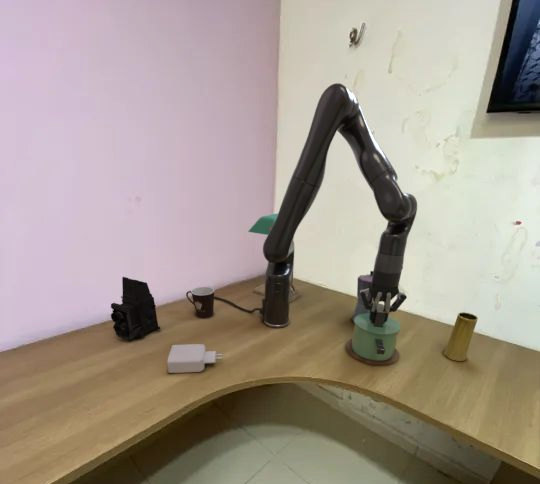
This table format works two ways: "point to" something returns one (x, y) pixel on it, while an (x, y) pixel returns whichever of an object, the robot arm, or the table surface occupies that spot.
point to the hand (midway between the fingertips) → (377, 321)
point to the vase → (461, 336)
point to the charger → (190, 358)
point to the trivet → (368, 361)
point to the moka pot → (363, 283)
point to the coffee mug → (203, 301)
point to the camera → (134, 311)
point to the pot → (375, 335)
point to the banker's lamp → (264, 227)
